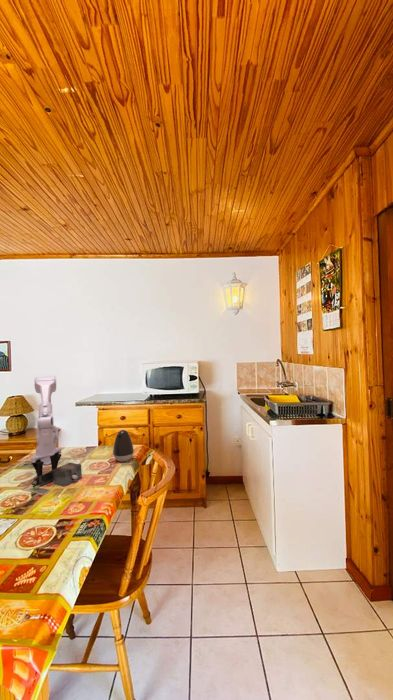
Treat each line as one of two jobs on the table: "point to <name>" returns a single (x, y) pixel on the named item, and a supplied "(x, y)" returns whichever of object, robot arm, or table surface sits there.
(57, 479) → the gauge frame
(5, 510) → the table surface
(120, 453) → the black egg-shaped speaker
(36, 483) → the electric trimmer
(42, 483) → the gauge plunger
